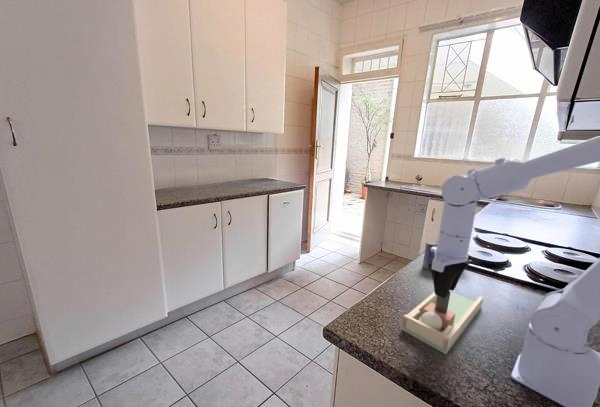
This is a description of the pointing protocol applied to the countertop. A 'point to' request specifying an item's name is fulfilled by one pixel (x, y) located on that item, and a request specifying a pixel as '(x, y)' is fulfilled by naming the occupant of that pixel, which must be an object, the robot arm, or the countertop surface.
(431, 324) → the ball
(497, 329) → the countertop surface
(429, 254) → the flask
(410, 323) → the pitch
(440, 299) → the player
